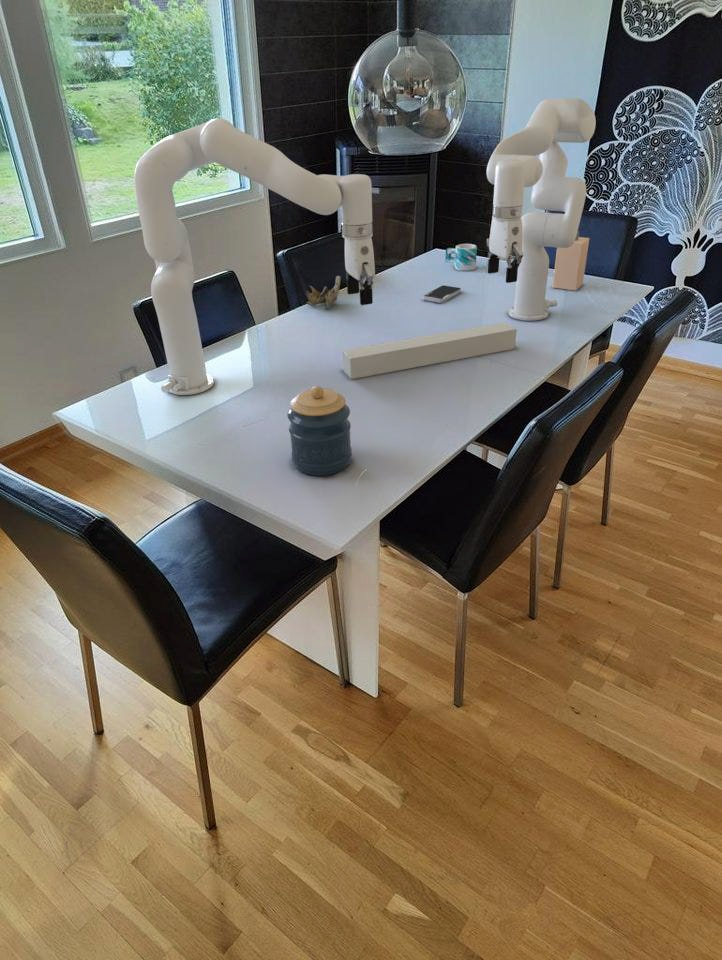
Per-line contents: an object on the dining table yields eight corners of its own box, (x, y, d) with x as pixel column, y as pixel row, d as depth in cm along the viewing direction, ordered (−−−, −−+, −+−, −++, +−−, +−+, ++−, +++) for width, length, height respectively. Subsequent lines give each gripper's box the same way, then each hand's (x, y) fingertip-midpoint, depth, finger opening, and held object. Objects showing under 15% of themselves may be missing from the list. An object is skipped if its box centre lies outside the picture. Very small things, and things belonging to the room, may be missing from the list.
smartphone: (461, 288, 240) (441, 299, 230) (461, 291, 241) (441, 303, 231) (442, 285, 244) (422, 296, 234) (442, 288, 245) (422, 300, 235)
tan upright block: (559, 281, 247) (567, 218, 235) (582, 284, 243) (592, 220, 231) (548, 290, 238) (556, 226, 226) (572, 294, 234) (581, 228, 222)
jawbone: (353, 284, 236) (341, 264, 228) (334, 318, 232) (322, 299, 224) (332, 281, 241) (320, 262, 233) (313, 315, 237) (300, 296, 229)
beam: (351, 379, 181) (350, 358, 178) (343, 370, 186) (342, 350, 183) (514, 348, 195) (516, 329, 192) (503, 341, 200) (505, 322, 197)
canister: (282, 471, 142) (273, 395, 133) (307, 442, 152) (301, 370, 143) (338, 481, 138) (333, 404, 129) (360, 451, 148) (358, 377, 139)
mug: (470, 271, 262) (471, 249, 257) (442, 268, 267) (442, 246, 263) (478, 266, 268) (479, 244, 263) (451, 262, 273) (451, 241, 268)
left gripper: (384, 235, 158) (385, 306, 168) (359, 221, 172) (361, 287, 181) (354, 239, 156) (357, 310, 166) (331, 224, 170) (335, 291, 179)
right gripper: (537, 216, 170) (530, 283, 179) (502, 204, 184) (497, 267, 193) (511, 219, 168) (506, 287, 177) (478, 207, 182) (474, 271, 191)
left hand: (359, 298), depth 174 cm, fingers open, 9 cm apart
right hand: (501, 277), depth 185 cm, fingers open, 9 cm apart
